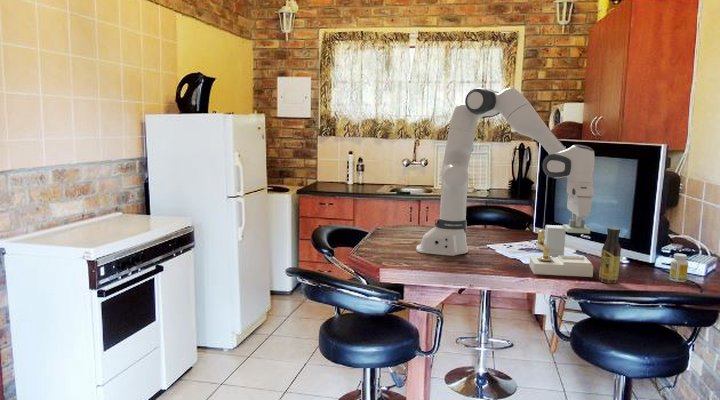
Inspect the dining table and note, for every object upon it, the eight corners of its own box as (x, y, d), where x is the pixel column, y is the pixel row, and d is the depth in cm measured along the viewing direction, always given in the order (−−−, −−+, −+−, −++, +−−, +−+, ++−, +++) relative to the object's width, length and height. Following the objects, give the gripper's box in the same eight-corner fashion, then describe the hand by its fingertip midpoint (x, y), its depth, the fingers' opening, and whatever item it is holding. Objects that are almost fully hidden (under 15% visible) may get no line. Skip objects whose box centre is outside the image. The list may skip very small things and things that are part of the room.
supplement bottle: (668, 280, 199) (670, 254, 197) (670, 277, 203) (673, 252, 201) (685, 283, 195) (687, 257, 194) (687, 280, 200) (689, 254, 198)
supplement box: (564, 258, 229) (566, 228, 227) (545, 257, 230) (547, 227, 228) (561, 254, 236) (563, 225, 234) (543, 252, 237) (545, 224, 235)
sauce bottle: (595, 279, 199) (599, 226, 196) (611, 279, 200) (616, 225, 196) (604, 284, 193) (609, 229, 190) (621, 284, 193) (626, 229, 190)
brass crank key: (534, 255, 217) (535, 230, 215) (544, 255, 217) (545, 230, 215) (542, 261, 207) (543, 235, 205) (552, 261, 207) (554, 235, 205)
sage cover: (567, 232, 202) (568, 221, 202) (562, 228, 210) (563, 217, 210) (589, 233, 201) (590, 222, 201) (584, 229, 209) (585, 218, 208)
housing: (533, 273, 205) (534, 261, 204) (529, 266, 216) (530, 253, 215) (592, 276, 202) (593, 263, 201) (584, 268, 213) (585, 256, 212)
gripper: (564, 185, 214) (561, 219, 216) (577, 192, 194) (573, 230, 196) (581, 185, 213) (578, 220, 215) (595, 192, 193) (592, 231, 195)
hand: (576, 225), depth 205 cm, fingers closed on sage cover, 2 cm apart
